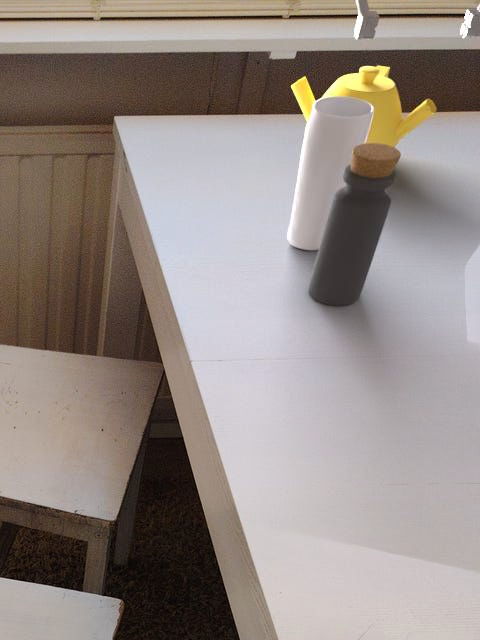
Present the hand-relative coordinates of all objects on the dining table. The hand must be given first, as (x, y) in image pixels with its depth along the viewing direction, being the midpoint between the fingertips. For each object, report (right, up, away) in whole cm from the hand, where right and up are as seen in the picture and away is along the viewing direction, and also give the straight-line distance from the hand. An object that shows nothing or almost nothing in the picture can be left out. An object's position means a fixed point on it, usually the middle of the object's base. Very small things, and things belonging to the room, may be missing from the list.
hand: (416, 36), depth 75 cm
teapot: (+12, +14, +44) cm, 47 cm away
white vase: (0, -5, +28) cm, 28 cm away
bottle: (0, -15, +20) cm, 25 cm away
